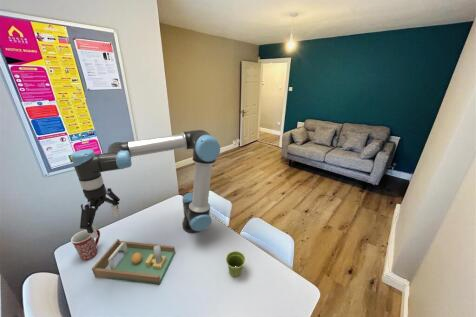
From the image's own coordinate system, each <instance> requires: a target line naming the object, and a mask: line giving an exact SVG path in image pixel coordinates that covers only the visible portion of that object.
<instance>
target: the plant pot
mask: <svg viewBox="0 0 476 317" xmlns="http://www.w3.org/2000/svg"><path fill="white" fill-rule="evenodd" d="M225 263H226V264H227V268H228V274H230V276H231V277H233V278H237V277H240V276H241V274H242V270H243V267H244V265H245V264H246V256H245V255H244V254H243V252H241V251H237V250H235V251H231V252H229V253H228V254H227V255H226V257H225ZM235 266H236V267H235Z"/></svg>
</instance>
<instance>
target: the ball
mask: <svg viewBox="0 0 476 317" xmlns="http://www.w3.org/2000/svg"><path fill="white" fill-rule="evenodd" d="M141 260H142V255H141V253H135V254H133V255H132V257H131V261H132V263H134V264H137V263H139V262H140V261H141Z"/></svg>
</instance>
